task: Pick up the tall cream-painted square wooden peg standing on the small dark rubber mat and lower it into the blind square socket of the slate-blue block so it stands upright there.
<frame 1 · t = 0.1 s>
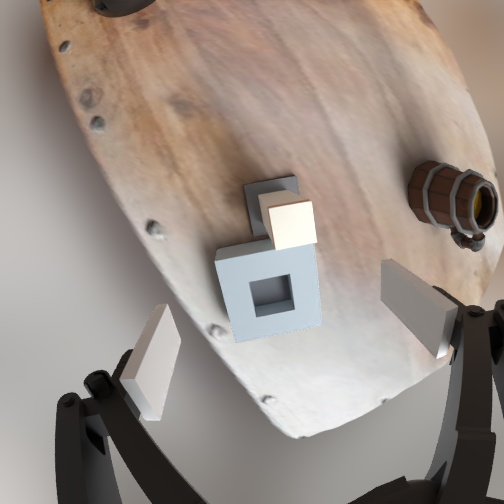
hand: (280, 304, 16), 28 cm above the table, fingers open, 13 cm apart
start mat: (274, 205, 42), on the table
socket block: (268, 280, 46), on the table
mug: (433, 202, 43), on the table
peg: (275, 206, 41), point 1 cm above the table, touching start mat
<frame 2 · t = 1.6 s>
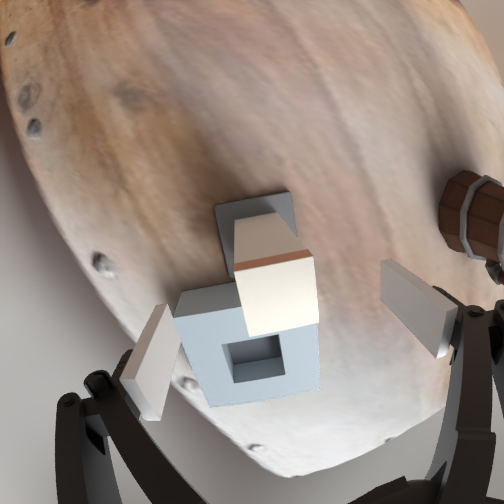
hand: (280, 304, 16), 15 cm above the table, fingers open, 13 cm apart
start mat: (258, 234, 30), on the table
socket block: (251, 330, 34), on the table
mug: (466, 223, 31), on the table
peg: (259, 236, 29), point 1 cm above the table, touching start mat
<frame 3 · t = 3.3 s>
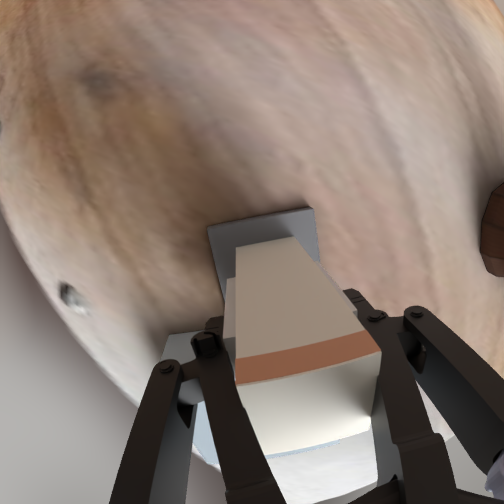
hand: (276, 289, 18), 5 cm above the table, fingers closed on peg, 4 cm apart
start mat: (268, 264, 22), on the table
socket block: (257, 378, 26), on the table
peg: (269, 269, 21), point 1 cm above the table, touching gripper, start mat
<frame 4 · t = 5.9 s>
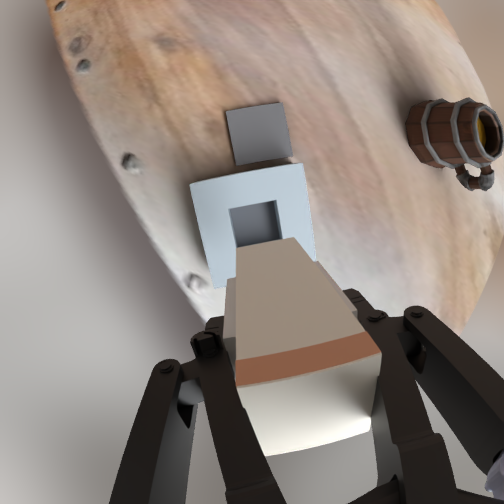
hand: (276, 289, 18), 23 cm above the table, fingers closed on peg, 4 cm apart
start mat: (259, 133, 36), on the table
socket block: (253, 218, 40), on the table
mug: (434, 145, 38), on the table
peg: (269, 269, 21), point 20 cm above the table, touching gripper
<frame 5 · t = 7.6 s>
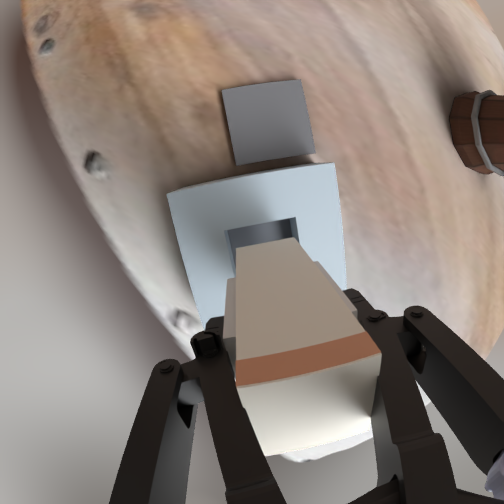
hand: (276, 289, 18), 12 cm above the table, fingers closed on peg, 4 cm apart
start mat: (268, 121, 25), on the table
socket block: (260, 239, 29), on the table
mug: (478, 145, 27), on the table
peg: (270, 269, 21), point 8 cm above the table, touching gripper
when the fingers open (8 cm above the table, at t = 8.7 s): peg drops 1 cm, resting on socket block.
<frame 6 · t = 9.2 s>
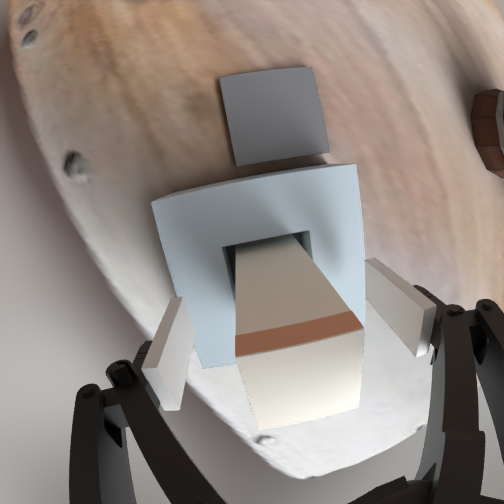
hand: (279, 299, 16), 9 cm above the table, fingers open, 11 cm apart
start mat: (274, 114, 21), on the table
socket block: (264, 253, 25), on the table
mug: (498, 147, 23), on the table
peg: (267, 263, 23), point 3 cm above the table, touching socket block
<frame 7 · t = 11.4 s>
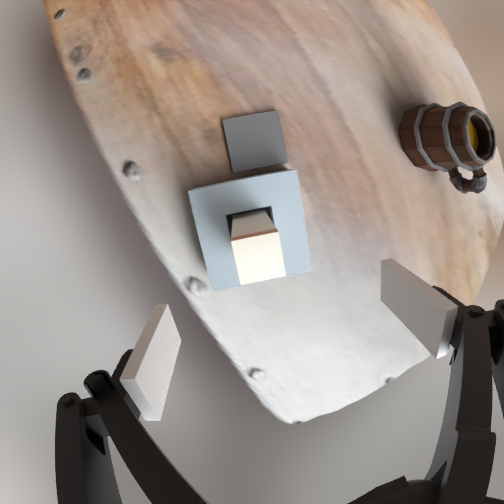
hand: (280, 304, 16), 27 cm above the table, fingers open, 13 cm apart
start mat: (255, 141, 38), on the table
socket block: (250, 223, 41), on the table
mug: (428, 148, 39), on the table
peg: (251, 227, 39), point 3 cm above the table, touching socket block
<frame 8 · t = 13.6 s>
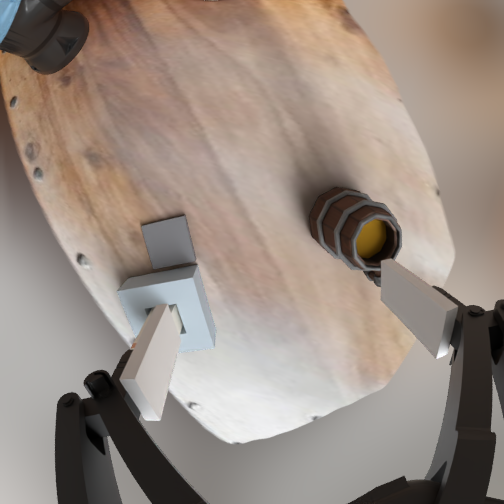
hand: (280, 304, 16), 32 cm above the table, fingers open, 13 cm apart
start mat: (169, 242, 47), on the table
socket block: (172, 305, 50), on the table
mug: (344, 230, 48), on the table
peg: (169, 311, 48), point 3 cm above the table, touching socket block
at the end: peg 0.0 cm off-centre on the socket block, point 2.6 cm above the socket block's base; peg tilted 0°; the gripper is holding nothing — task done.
